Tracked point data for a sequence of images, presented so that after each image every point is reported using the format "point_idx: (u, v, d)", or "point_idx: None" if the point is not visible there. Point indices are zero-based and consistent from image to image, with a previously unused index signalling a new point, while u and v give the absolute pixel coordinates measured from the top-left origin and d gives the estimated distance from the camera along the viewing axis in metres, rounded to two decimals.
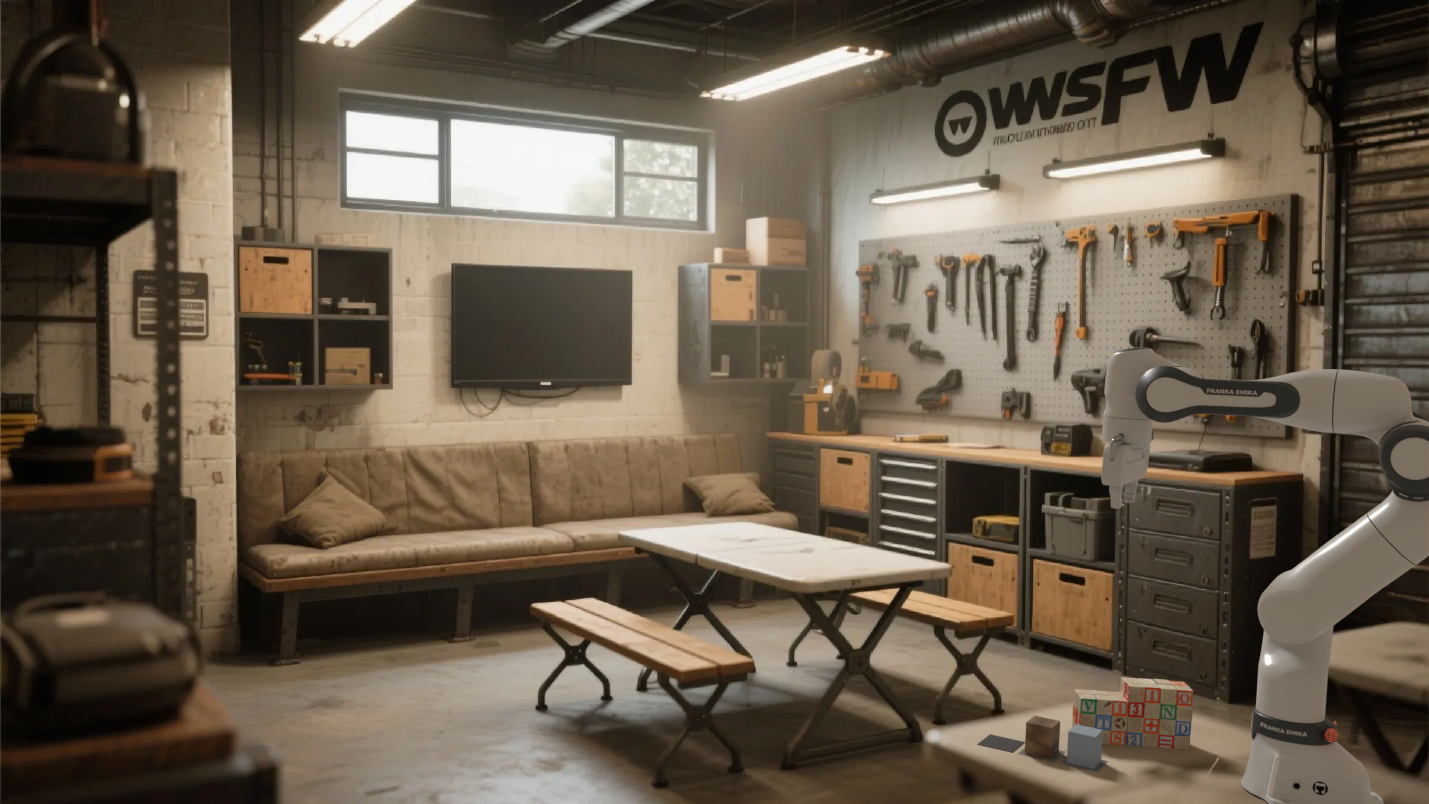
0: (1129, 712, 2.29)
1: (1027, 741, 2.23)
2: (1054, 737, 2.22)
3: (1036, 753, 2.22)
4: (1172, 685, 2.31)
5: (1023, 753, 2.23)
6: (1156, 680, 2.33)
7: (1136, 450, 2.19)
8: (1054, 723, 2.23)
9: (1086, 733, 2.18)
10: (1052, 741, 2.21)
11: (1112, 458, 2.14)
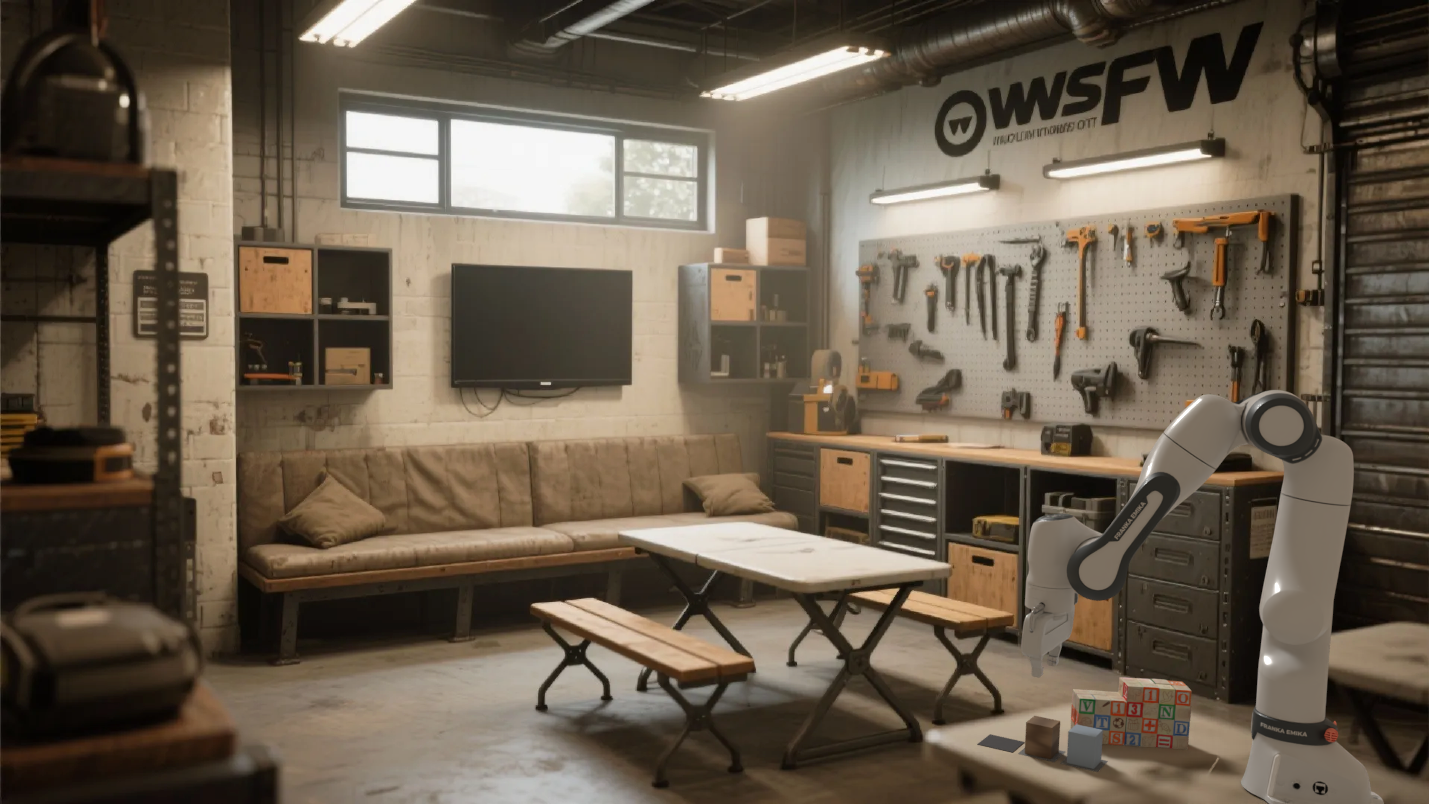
0: (1127, 711, 2.29)
1: (1027, 741, 2.23)
2: (1054, 737, 2.22)
3: (1036, 753, 2.22)
4: (1170, 685, 2.31)
5: (1023, 753, 2.23)
6: (1154, 680, 2.33)
7: (1057, 618, 2.20)
8: (1054, 723, 2.23)
9: (1086, 733, 2.18)
10: (1052, 741, 2.21)
11: (1031, 630, 2.14)
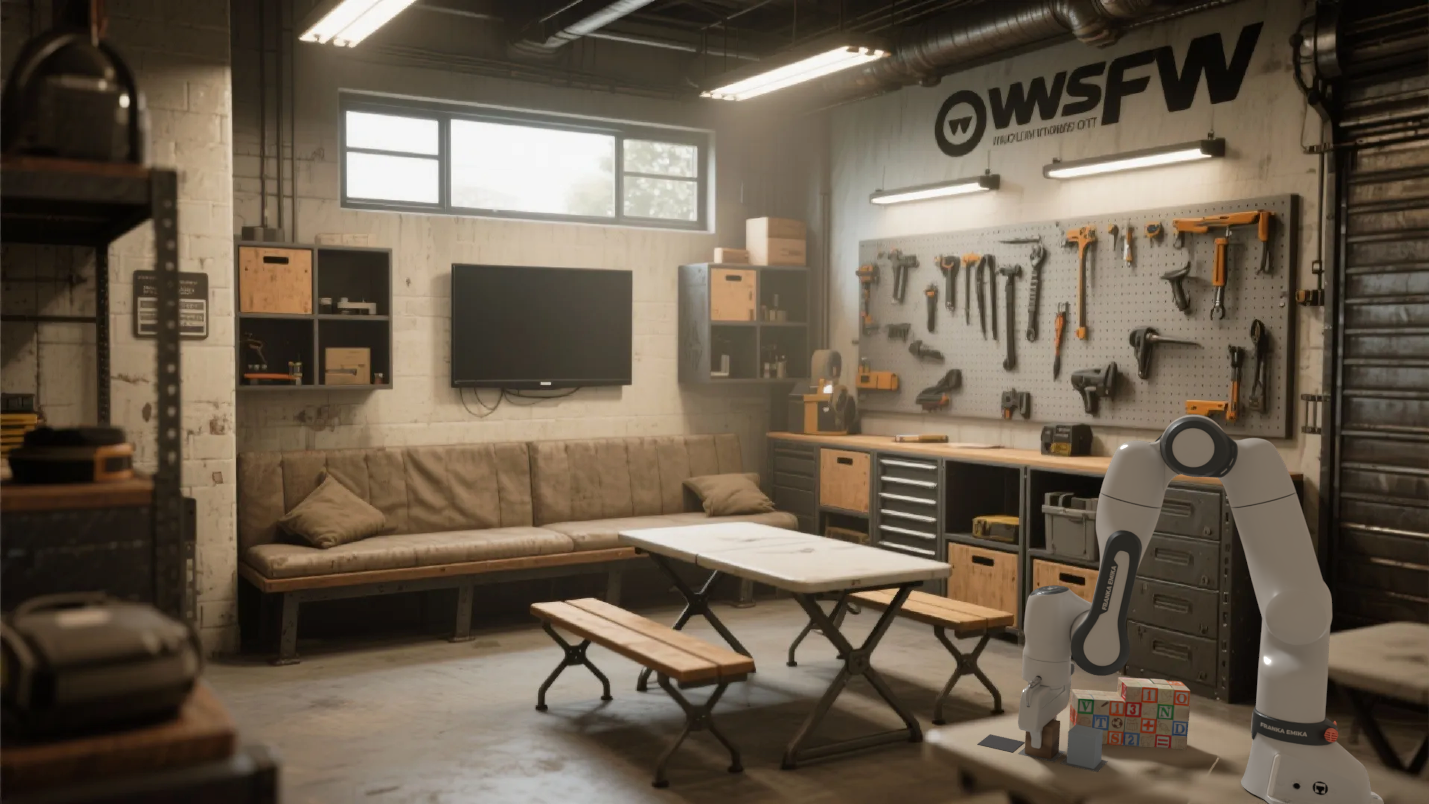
0: (1126, 711, 2.29)
1: (1027, 741, 2.23)
2: (1054, 737, 2.22)
3: (1036, 753, 2.22)
4: (1169, 685, 2.31)
5: (1023, 753, 2.23)
6: (1153, 680, 2.33)
7: (1054, 691, 2.20)
8: (1054, 723, 2.23)
9: (1086, 733, 2.18)
10: (1052, 741, 2.21)
11: (1028, 705, 2.15)
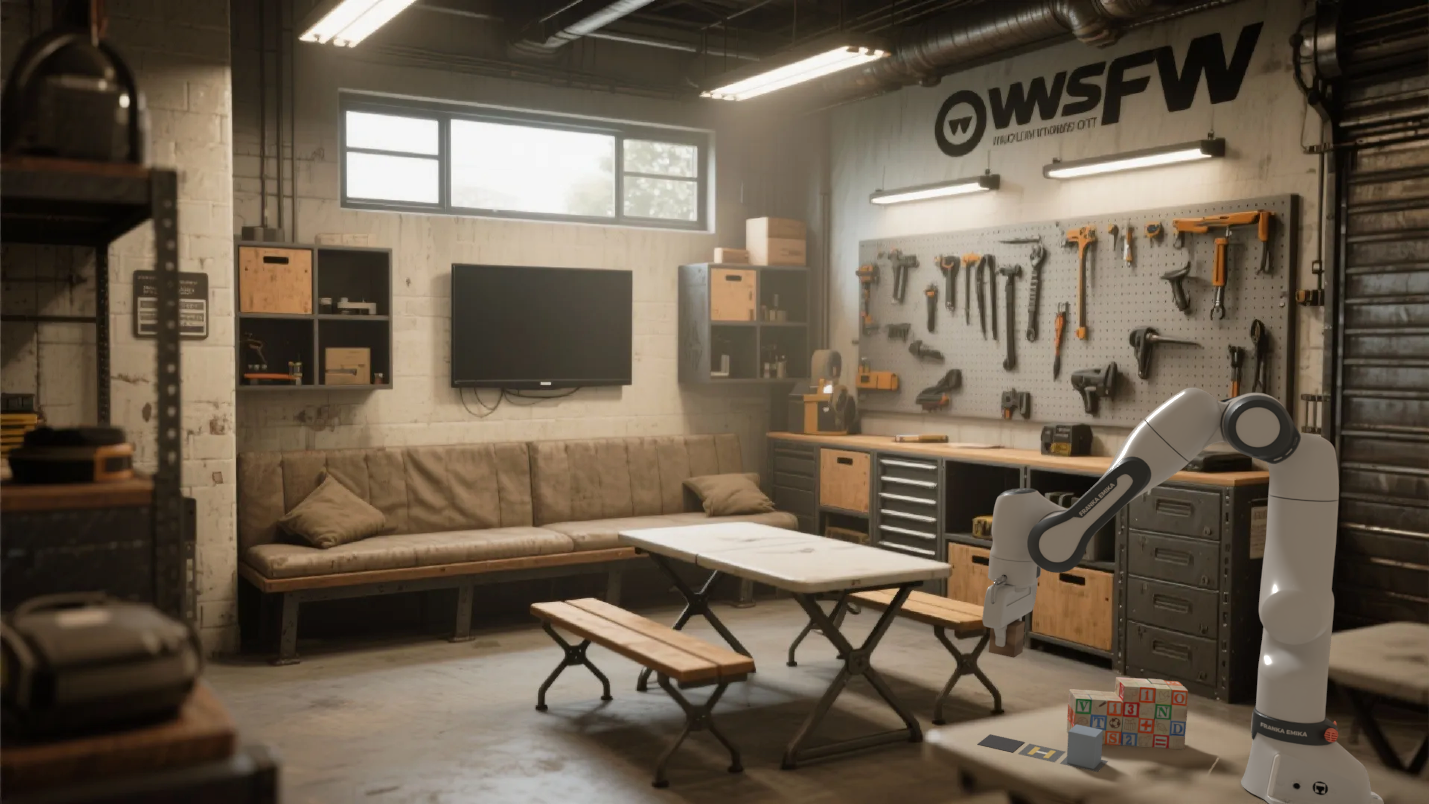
0: (1124, 711, 2.29)
1: (991, 640, 2.26)
2: (1018, 637, 2.25)
3: (1000, 652, 2.25)
4: (1167, 685, 2.31)
5: (1023, 753, 2.23)
6: (1151, 680, 2.33)
7: (1019, 591, 2.23)
8: (1019, 623, 2.26)
9: (1086, 733, 2.18)
10: (1016, 639, 2.24)
11: (993, 601, 2.18)
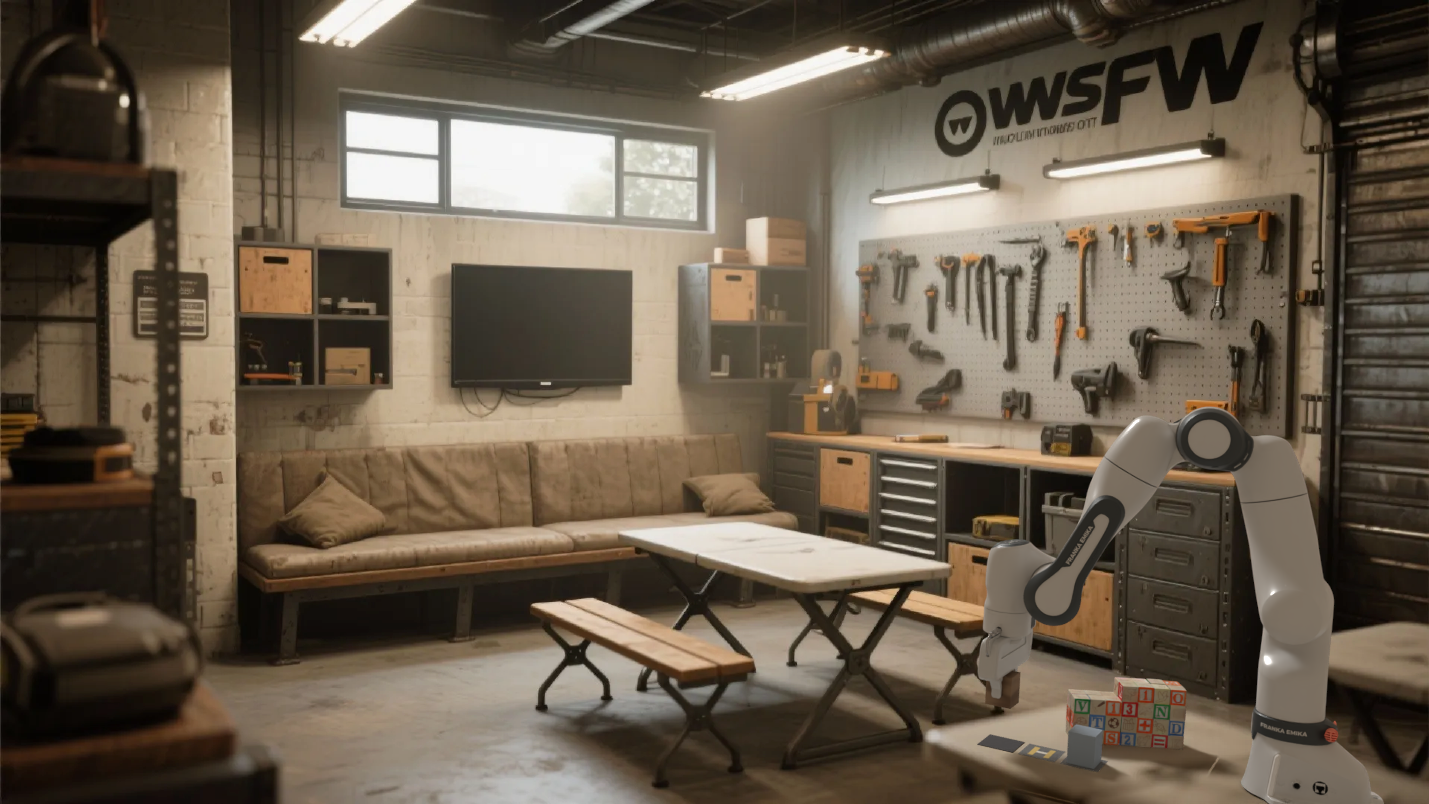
0: (1122, 711, 2.29)
1: (987, 692, 2.27)
2: (1014, 688, 2.26)
3: (996, 703, 2.26)
4: (1165, 685, 2.31)
5: (1023, 753, 2.23)
6: (1149, 680, 2.33)
7: (1014, 642, 2.24)
8: (1014, 674, 2.27)
9: (1086, 733, 2.18)
10: (1011, 691, 2.25)
11: (988, 655, 2.19)
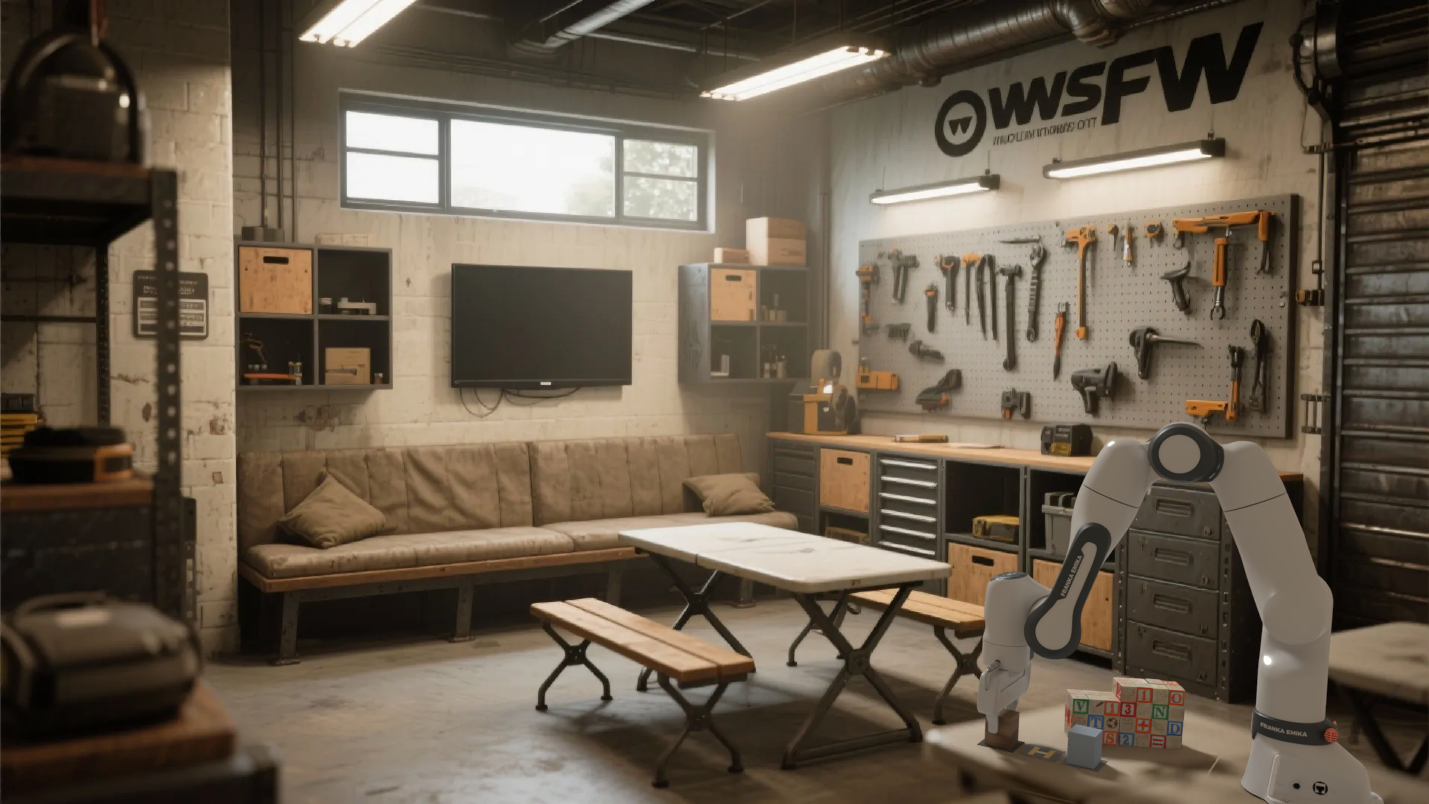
0: (1121, 711, 2.29)
1: (986, 732, 2.27)
2: (1013, 728, 2.27)
3: (995, 743, 2.27)
4: (1164, 685, 2.31)
5: (1023, 753, 2.23)
6: (1148, 680, 2.33)
7: (1013, 675, 2.25)
8: (1013, 714, 2.28)
9: (1086, 733, 2.18)
10: (1011, 731, 2.25)
11: (987, 688, 2.19)
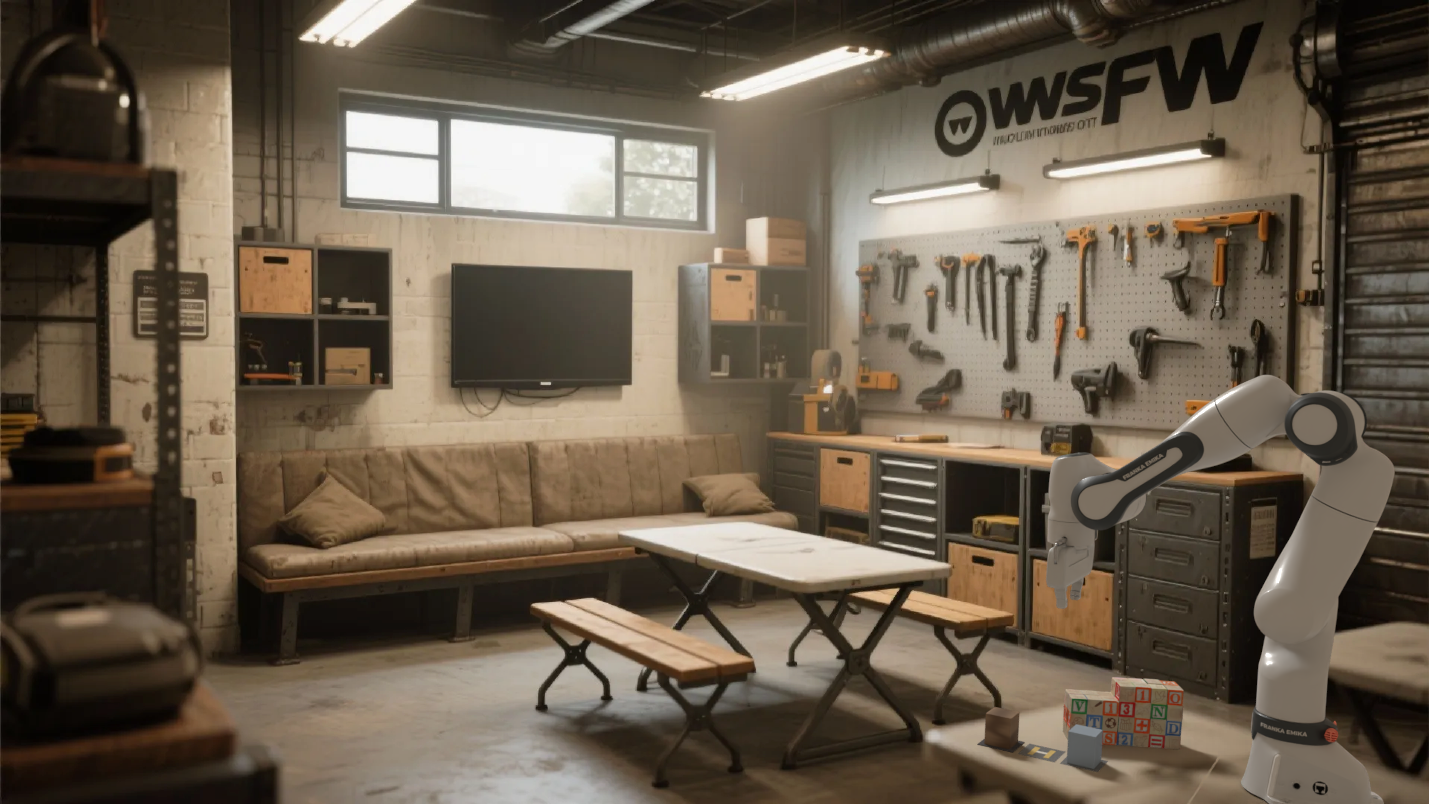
0: (1120, 711, 2.29)
1: (986, 732, 2.27)
2: (1013, 728, 2.27)
3: (995, 743, 2.27)
4: (1163, 685, 2.31)
5: (1023, 753, 2.23)
6: (1147, 680, 2.33)
7: (1079, 552, 2.29)
8: (1013, 714, 2.28)
9: (1086, 733, 2.18)
10: (1011, 731, 2.25)
11: (1056, 562, 2.24)
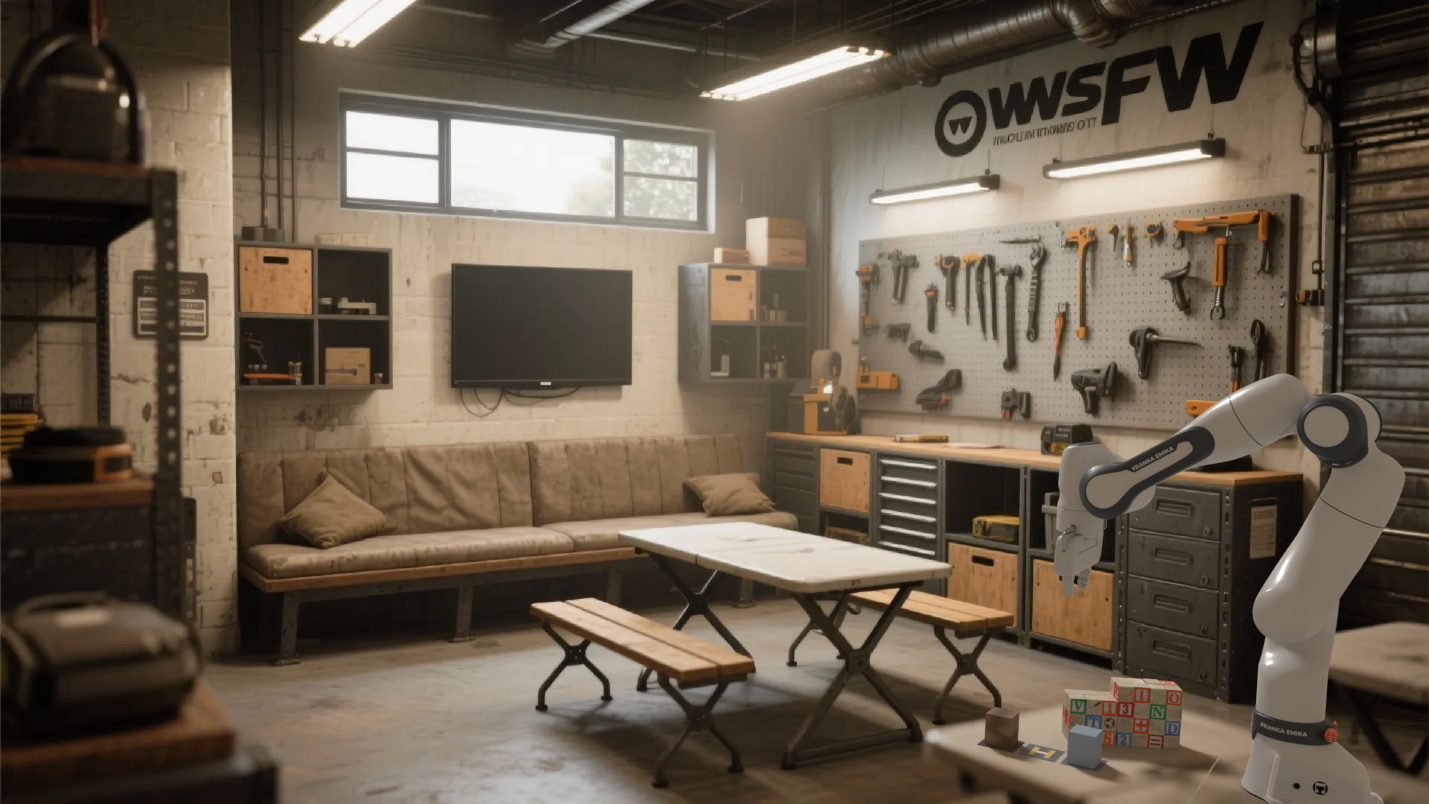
0: (1119, 711, 2.29)
1: (986, 732, 2.27)
2: (1013, 728, 2.27)
3: (995, 743, 2.27)
4: (1162, 685, 2.31)
5: (1023, 753, 2.23)
6: (1146, 680, 2.33)
7: (1088, 540, 2.30)
8: (1013, 714, 2.28)
9: (1086, 733, 2.18)
10: (1011, 731, 2.25)
11: (1064, 550, 2.25)
